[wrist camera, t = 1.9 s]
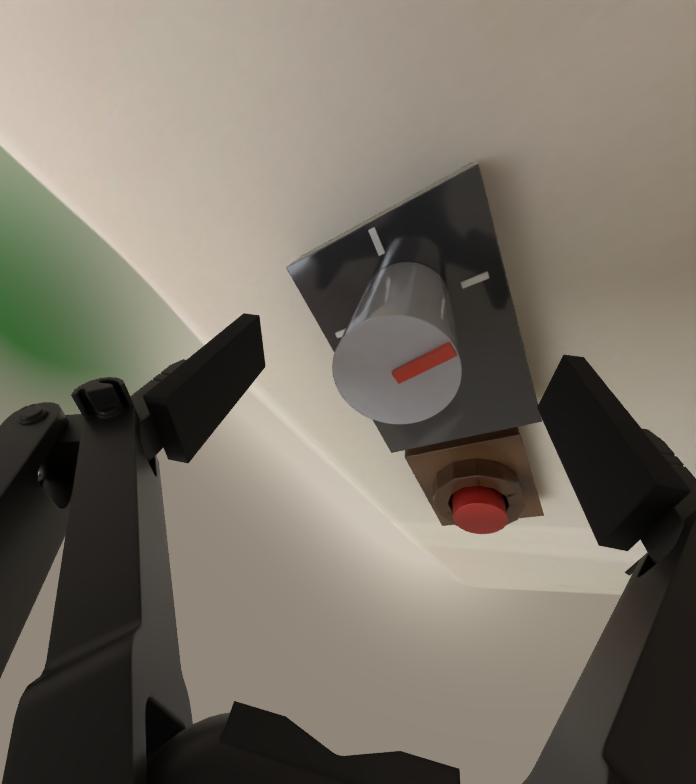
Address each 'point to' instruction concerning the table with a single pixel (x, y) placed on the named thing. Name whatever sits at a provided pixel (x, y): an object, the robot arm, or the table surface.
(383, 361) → the stove knob
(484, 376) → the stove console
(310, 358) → the table surface
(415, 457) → the block
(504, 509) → the power button
